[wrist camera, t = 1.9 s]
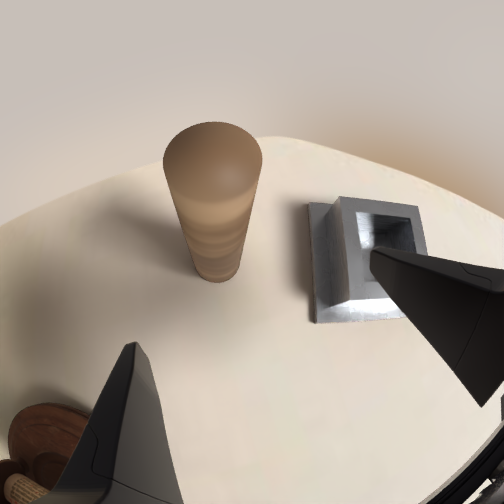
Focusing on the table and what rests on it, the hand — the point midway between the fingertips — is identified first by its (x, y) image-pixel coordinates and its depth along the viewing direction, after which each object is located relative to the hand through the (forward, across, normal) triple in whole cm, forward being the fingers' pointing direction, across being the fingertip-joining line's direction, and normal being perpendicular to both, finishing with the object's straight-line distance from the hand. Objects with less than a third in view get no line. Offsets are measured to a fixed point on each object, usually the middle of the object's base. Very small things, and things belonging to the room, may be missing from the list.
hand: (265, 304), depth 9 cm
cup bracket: (+9, -12, +8) cm, 17 cm away
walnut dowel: (+12, 0, +5) cm, 13 cm away
